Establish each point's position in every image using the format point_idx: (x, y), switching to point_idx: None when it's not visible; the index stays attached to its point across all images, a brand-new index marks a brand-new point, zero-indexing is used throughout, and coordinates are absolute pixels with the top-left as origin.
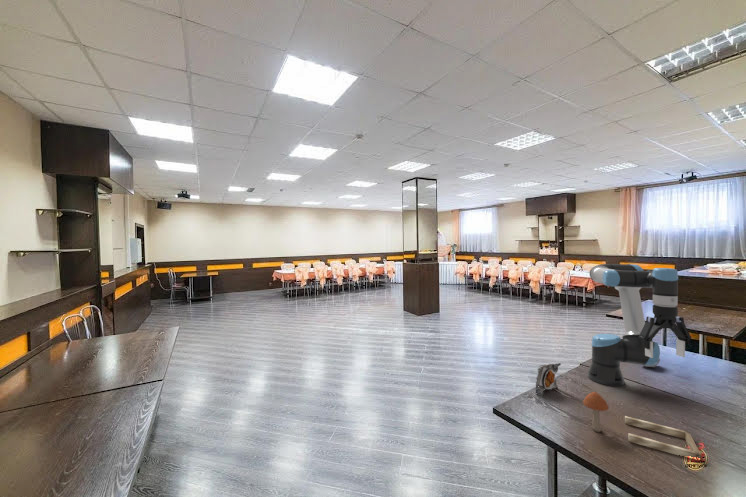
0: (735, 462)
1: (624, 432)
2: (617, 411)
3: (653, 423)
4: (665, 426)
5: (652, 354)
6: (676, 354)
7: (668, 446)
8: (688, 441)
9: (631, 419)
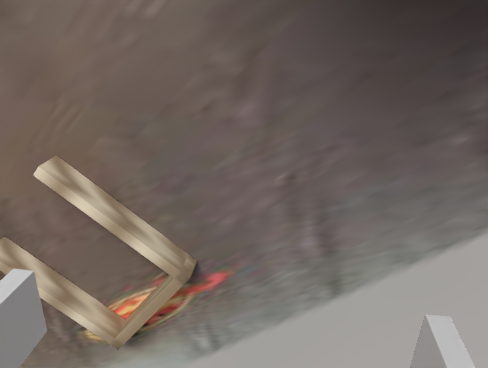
0: (224, 341)
1: (20, 199)
2: (85, 73)
3: (110, 222)
4: (137, 243)
5: (18, 360)
6: (426, 319)
7: (63, 311)
8: (154, 295)
9: (52, 186)
